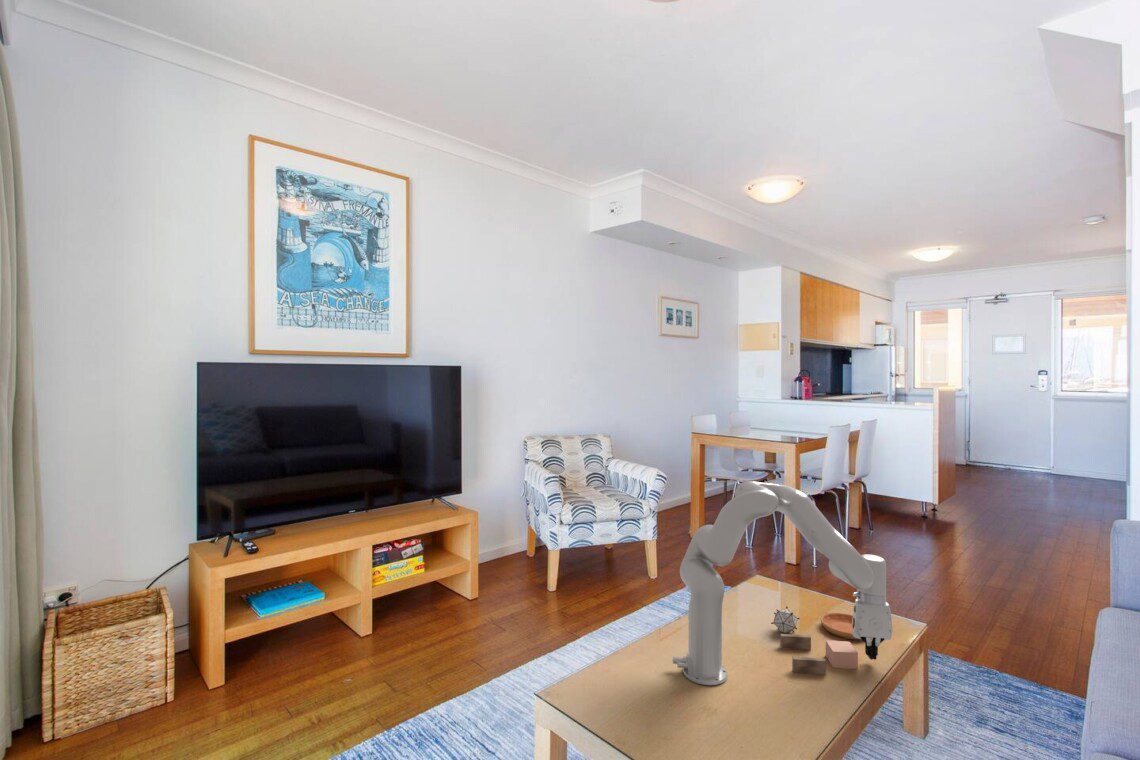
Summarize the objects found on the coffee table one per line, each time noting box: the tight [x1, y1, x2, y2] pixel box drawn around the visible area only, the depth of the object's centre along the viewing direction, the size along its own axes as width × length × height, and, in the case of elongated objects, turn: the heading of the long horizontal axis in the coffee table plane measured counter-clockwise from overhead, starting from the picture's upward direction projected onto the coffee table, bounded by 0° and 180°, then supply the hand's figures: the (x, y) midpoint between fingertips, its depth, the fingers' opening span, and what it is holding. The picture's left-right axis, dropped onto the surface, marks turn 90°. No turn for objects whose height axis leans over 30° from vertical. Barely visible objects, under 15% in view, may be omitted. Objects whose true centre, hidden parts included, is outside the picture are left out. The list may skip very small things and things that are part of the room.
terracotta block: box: [825, 639, 859, 669], centre depth 170 cm, size 7×7×5 cm
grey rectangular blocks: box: [779, 633, 827, 676], centre depth 172 cm, size 9×16×4 cm, turn 173°
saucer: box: [820, 612, 859, 640], centre depth 191 cm, size 16×16×3 cm
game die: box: [770, 606, 800, 634], centre depth 190 cm, size 9×8×10 cm
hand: (871, 657), depth 169 cm, fingers closed
